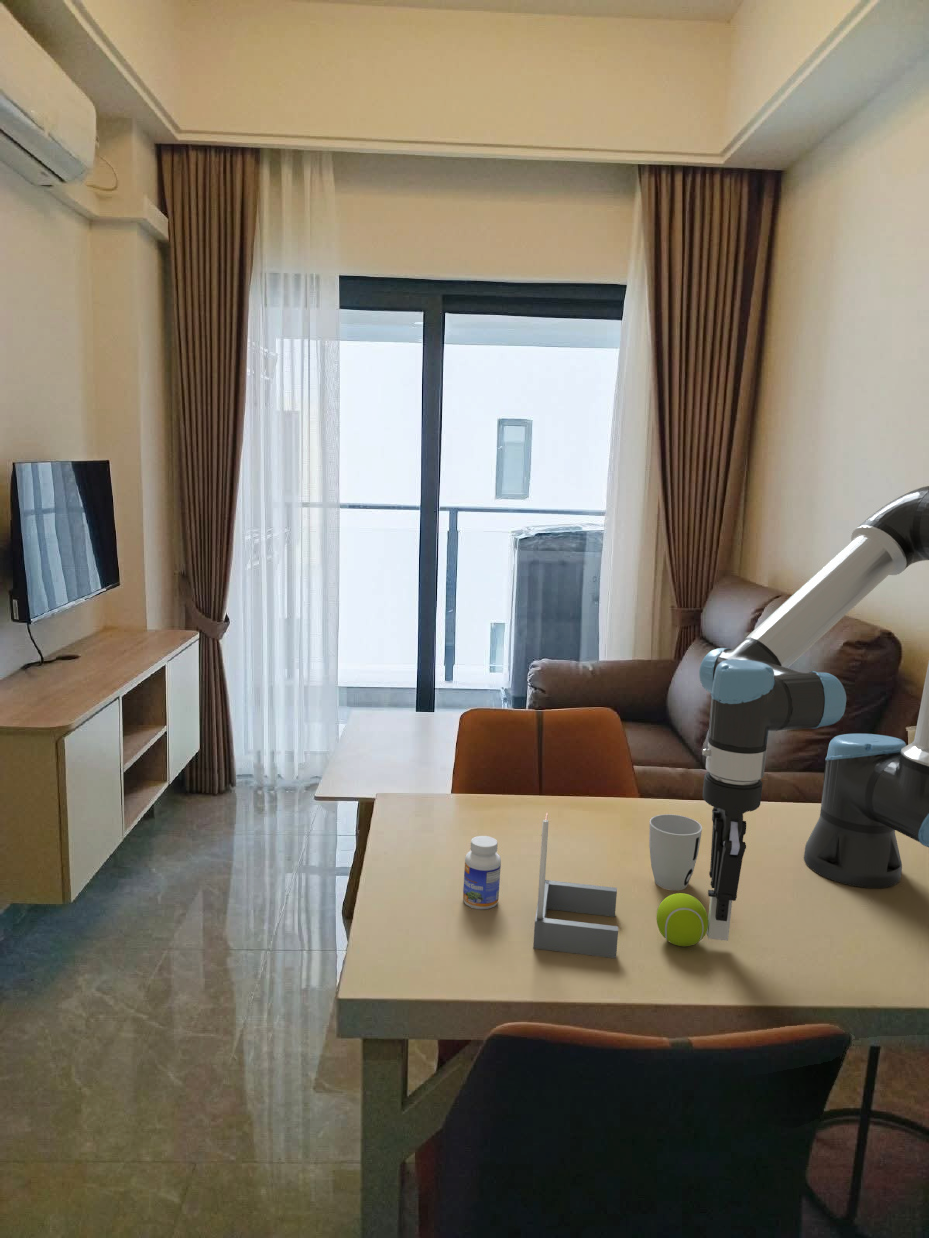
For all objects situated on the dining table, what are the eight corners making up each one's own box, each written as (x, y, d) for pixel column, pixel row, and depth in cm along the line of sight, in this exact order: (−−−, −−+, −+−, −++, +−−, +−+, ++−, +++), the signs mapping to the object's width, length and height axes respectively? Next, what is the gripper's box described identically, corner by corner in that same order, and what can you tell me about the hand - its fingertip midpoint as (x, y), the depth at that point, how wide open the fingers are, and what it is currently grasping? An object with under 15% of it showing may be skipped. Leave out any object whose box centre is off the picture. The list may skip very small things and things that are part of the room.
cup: (698, 898, 135) (703, 837, 133) (644, 891, 136) (649, 831, 135) (695, 874, 143) (700, 817, 141) (644, 868, 144) (649, 811, 142)
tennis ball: (709, 958, 118) (714, 911, 117) (657, 953, 119) (661, 906, 118) (701, 931, 125) (706, 886, 124) (652, 927, 126) (656, 882, 124)
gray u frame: (614, 912, 129) (623, 798, 126) (616, 958, 117) (625, 832, 114) (539, 904, 131) (546, 790, 128) (533, 948, 119) (540, 824, 116)
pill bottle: (455, 900, 131) (457, 839, 129) (480, 889, 135) (483, 830, 133) (481, 914, 127) (484, 852, 126) (506, 902, 131) (509, 841, 129)
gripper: (699, 757, 124) (685, 910, 128) (711, 789, 111) (694, 959, 115) (753, 761, 123) (737, 916, 127) (772, 795, 110) (753, 966, 114)
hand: (717, 936), depth 121 cm, fingers closed
